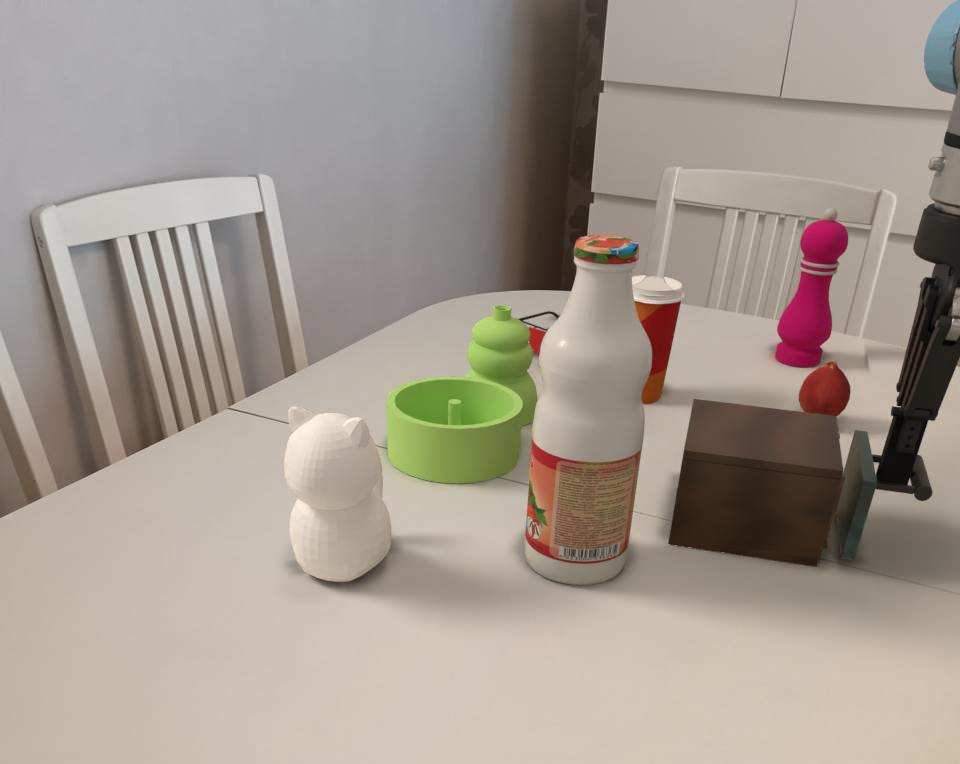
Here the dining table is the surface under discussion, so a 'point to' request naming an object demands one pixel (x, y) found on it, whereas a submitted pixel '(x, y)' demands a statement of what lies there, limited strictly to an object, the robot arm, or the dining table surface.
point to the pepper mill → (812, 294)
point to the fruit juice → (589, 421)
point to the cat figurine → (335, 496)
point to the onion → (825, 391)
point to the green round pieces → (467, 409)
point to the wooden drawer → (866, 492)
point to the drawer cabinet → (757, 482)
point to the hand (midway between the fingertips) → (891, 479)
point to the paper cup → (657, 325)
